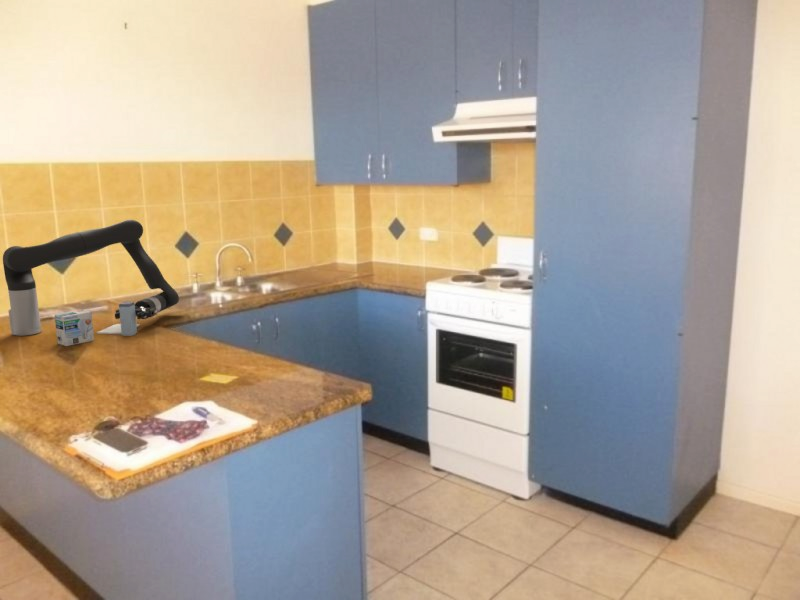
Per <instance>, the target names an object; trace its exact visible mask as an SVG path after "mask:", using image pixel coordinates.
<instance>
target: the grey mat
mask: <svg viewBox="0 0 800 600" xmlns="http://www.w3.org/2000/svg"><path fill="white" fill-rule="evenodd" d="M136 325H137V328H139V327H140V326H141V324H140V323H136ZM96 335H122V332H121V323H115V324H113V325H111V326H108V327H106V328H103V329H101V330H99V331H97V332H96Z"/></svg>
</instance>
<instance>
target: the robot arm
mask: <svg viewBox="0 0 800 600" xmlns="http://www.w3.org/2000/svg"><path fill="white" fill-rule="evenodd" d="M143 234H144V227H143V225H142V224H141V223H140V222H139V221H137V220H135V219H125V220H122V221H120V222H118V223H115V224H111V225H109V226H105V227H100V228H99V227H98V228H92V229H87V230H83V231H77V232H74V233H69V234H65V235H61V236H60V237H57V238H55V239H53V240H51V241H48V242H45V243H42V244H38V245H32V246H25V247H24V246H19V245H12V246H10V247H8V248H7V249H5V251H4V252H3V255H2V266H3V271H4V273H3V274H4V278H5V283H6V285H7V289H8V298H9V299H8V300H9V306H10V309H9V310H8V318H9V326H10V334H11V335H13V336H17V337H19V336H20V337H21V336H22V337H23V336H31V335H35V334H39V333H41V332H42V327H41V317H40V316H41V315H40V308H39V302H38V294H37V293H38V292H37V286H36V280H35V278H34V275H33V269H35V268H38V267H40V266H42V265H46V264H49V263H52V262H53V263H54V262H59V261H65V260H69V259H74V258H79V257H83V256H86V255H89V254H93V253H95V252H97V251H99V250H103V249H105V248H106V247H109V246H112V245H116V244H121V245H122V246H123V248H124V249H125V250H126V252H127V253H128V254H129V256H130V257H131V259H132V260H133V262H134V264H135V265H136V266H137V268H138V269H139V272H140V273H141V275H142V277H143V279H144V281H145V283H146V284H147V286H148V288H149V289H150V290H157V289H158V290H159V289H160V290H161V291H162V292H159V293H158V294H156V295H152V296H150V297H149V296H147V297H145V298H143V299H140V300H137V301H136V302H134V304H135V314H136V320H146V319H149V318H152V317H154V316H157V315H158V313H160V312H162V311H165V310H167V309H169V308H171V307H173V306H175V305H177V304H178V303H179V302H180V297H179V293H178V292H177V290H175V289H174V288H173V287H172V285H170V284H169V282H168V281H167V280H166V278H165V277H164V275H163V274H162V271H160V268H159V266H158V265H157V264H156V263H155V261H154V260H153V258H151V256H149V254H148V253H147V251H146V250H145V249H144V247H143V245H142V243H141V241H140V239H141V237H142V236H143ZM114 318H115V319H116V320H120V311H119V308H118V309H116V310H115V313H114Z"/></svg>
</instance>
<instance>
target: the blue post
mask: <svg viewBox="0 0 800 600" xmlns="http://www.w3.org/2000/svg"><path fill="white" fill-rule="evenodd" d="M118 309H119V311H120V318H119V320H120V322H119V323H120V324H121V332H122V334H121V336H123V337H124V336H125V337H126V336H130V337H131V336H134V335H137V334H138V327H137V325H136V324H137V317H136V314H135V301H128V302H127V301H123V302H120V303H119V304H118ZM136 333H137V334H136Z"/></svg>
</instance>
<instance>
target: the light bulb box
mask: <svg viewBox="0 0 800 600" xmlns="http://www.w3.org/2000/svg"><path fill="white" fill-rule="evenodd" d="M54 320H55V321H54V323H55V330H56V341H57V344H58V345H61V346H65V347H69V346H75V345H78V344H84V343H87V342H88V343H89V342H93V341H94V340H95V334H94V326H93V316H92V311H88V310H84V309H80V310H73V311H68V312H63V313H57V314H56V313H55V314H54Z"/></svg>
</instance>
